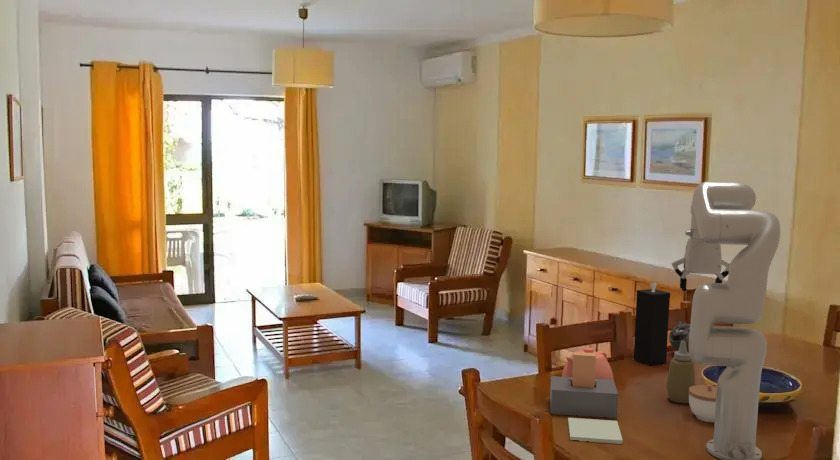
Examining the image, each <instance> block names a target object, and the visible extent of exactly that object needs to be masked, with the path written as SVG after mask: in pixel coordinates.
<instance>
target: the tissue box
mask: <svg viewBox="0 0 840 460" xmlns="http://www.w3.org/2000/svg"><path fill="white" fill-rule="evenodd" d="M657 284H658V282H651V283H649V285H650V288H648V289H638V290H636V303H635V304H636V306H635V321H634V322H635V325H634V327H635V328H634V346H633V347H634V348H633V351H634V352H633V360H635V361H637V362H639V363H642V364H644V365H646V366H655V365H660V364H666V363H667V353H668V339H669V334H668V333H669V319H670V318H669V317H670V303H671V302H670V299H671V292H668V291H664V290H661V289H657Z"/></svg>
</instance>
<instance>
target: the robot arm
mask: <svg viewBox="0 0 840 460" xmlns="http://www.w3.org/2000/svg"><path fill="white" fill-rule="evenodd" d="M756 200H757V196H756V193H755V190H754V189H753V188H752V187H751V186H750V185H749V184H747V183H744V182H737V181H703V182H700V183H699V184H698V185H697V186H696V187H695V189H694V191H693V194H692V201H691V203H690V214H691V219H690V229H689V230H686V231H685V233H684V234H685V236H687V237H689V238H688V239H687V241H686V246H685V249H684V250H685V252H684V255H683V257H682V258H679V259H678V260H674V261H673V262H672V263H671V266H672V268H673V270H674V272H675V273H676V274H677V275H678V276H679V277H680V280H679V288H680V289H681V291H682V292H684V293H685V292H687V281H688V280H687V278H686V277H687V276H688V275H689V274H700V275H702V274H703V275H715V276H716V278H715V281H714V282H707V283H702V284H700V285H698V287H697V288H695V291H694V293H693V297H692V302H691V305H692V306H691V314H690V323H689V325H690V333H689V355H690V358H691V361H692V362H693V363H694V364H698V365H703V366H717V367H718V366H719V367H726V368H725V369H724V370H723V371H722V373H720V375H719V377H718V380H717V383H716V387H717V392H716V407H715V422H713V423H714V424H713V425H714V426H713V439H712V438H711V439H710V440H708V441H707V442H706V444H705V449H706V451H707V453H709V454H710V455H711V456H713V457H715V458H718V459H719V460H762V458H763V457H762V456H763V455H762V453H763V452H762V450H761V449H760V448H758V447H757V445H756V441H757V438H756V437H757V427H758V414H759V402H760V401H759V399H760V391H761V390H760V388H761V386H760V384H761V377H762V372H763V367H764V363H765V360H766V359H765V358H766V356H767V349H768V348H767V347H768V342H767V339H766V337H765V335H764V334H763V333H762V332H761V331H760V330H758V329H755V328H752V327H751V328H750V327H746V326H745V327H744V326H730V325H731V324H733V325H735V324H736V325H753V324H757V323H759V322H760V321H761V319H762V318H763V315H764V311H765V306H766V296H767V285H768V277H769V272H770V271H769V270H770V267H771V265H772V261H773V260H774V258H775V255H776V253H777V250H778V247H779V244H780V239H781V223H780V221H779V218H778V216H776V215H775V214H773V213H772V212H769V211H765V210H759V209H757V210H756V209H753V208H754V206H755V204H756V202H757V201H756ZM722 245H731V246H735V245H736V246H737V245H738V246H739V245H740V246H745V247H744V248H742V249H741V250H740V251H739V252H738V253H737V254H735V256H734V257H733V259H731V261H730V263H729V262H727V261H725V260H723V259H722ZM682 264H683V270H682V271H681V270H680V269H679V266H680V265H682ZM722 266H724V267H725V269H724V270H723V271H722ZM721 271H722V272H721ZM727 276H728V277H727ZM726 277H727V281H726V282H725V283H723V280H724V279H725V278H726ZM715 324H730V325H729V326H724V325H722V326H719V325H715Z"/></svg>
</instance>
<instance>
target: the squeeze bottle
mask: <svg viewBox="0 0 840 460" xmlns="http://www.w3.org/2000/svg"><path fill="white" fill-rule="evenodd" d="M673 353H674V354H673V358H672V359H670V363H669V367H668V368H669V369H668V374H667V381H666V386H665V388H666V391H667V395H668V398H669V400H670V401H671V402H674V403H678V404H689V388H690V387H691V386H695V385H696V381H695V380H696V379H695V362H694V361H692V359H691V358H690V355H689V353H688V352H687V347H686V342H685V341H681V344H680V347H679V350H678V351H676V350H675V351H674V352H673Z"/></svg>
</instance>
